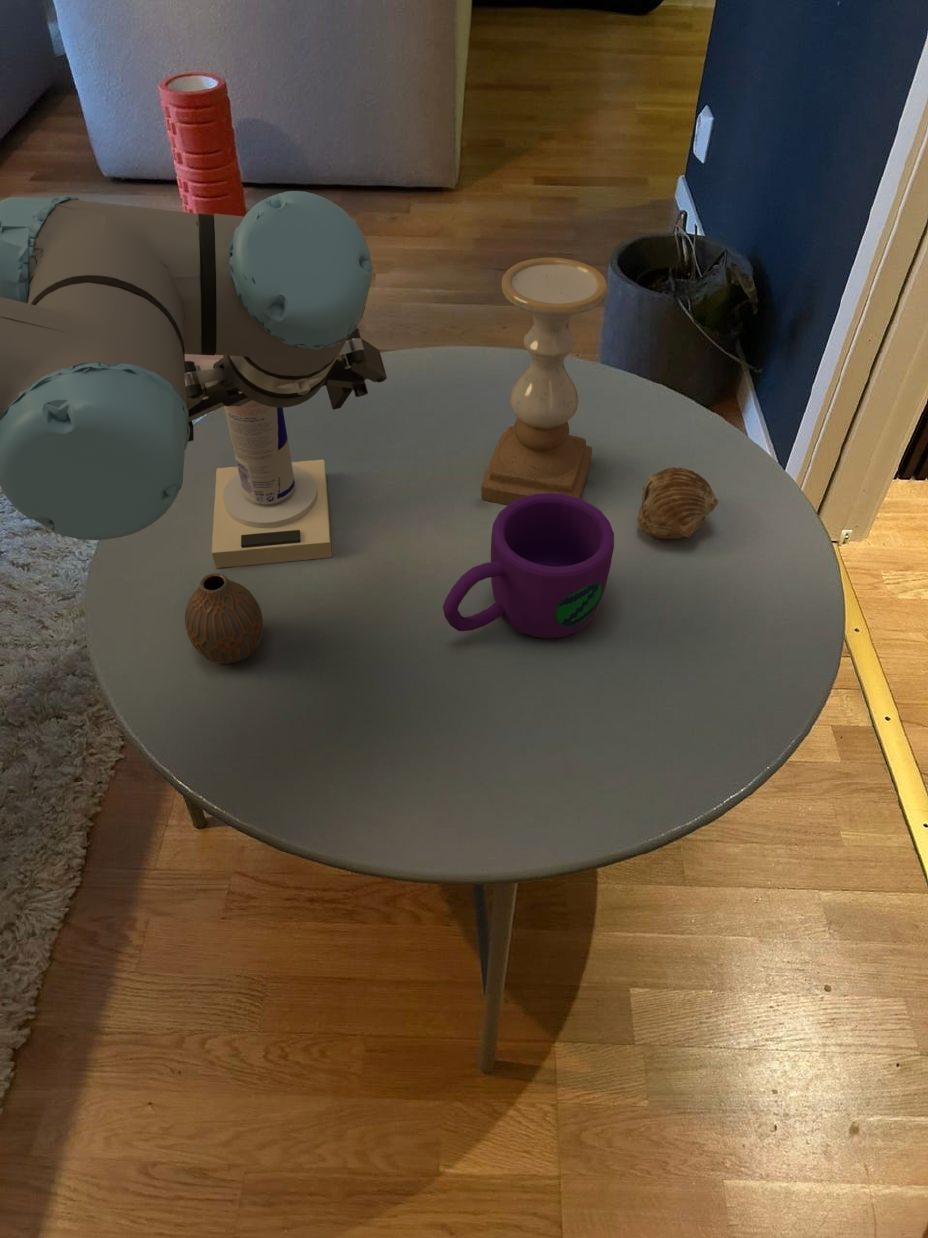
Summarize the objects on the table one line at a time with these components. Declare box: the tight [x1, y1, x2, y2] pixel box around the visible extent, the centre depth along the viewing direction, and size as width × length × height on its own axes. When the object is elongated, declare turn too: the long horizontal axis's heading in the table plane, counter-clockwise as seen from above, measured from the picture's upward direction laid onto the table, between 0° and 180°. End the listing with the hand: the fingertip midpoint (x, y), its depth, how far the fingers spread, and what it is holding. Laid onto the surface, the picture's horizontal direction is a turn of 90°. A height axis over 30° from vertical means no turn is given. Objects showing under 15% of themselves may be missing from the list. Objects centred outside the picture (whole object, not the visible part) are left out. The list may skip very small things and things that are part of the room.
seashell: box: [637, 466, 719, 540], centre depth 96 cm, size 9×7×8 cm
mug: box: [442, 493, 615, 639], centre depth 86 cm, size 17×11×10 cm, turn 121°
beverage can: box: [223, 391, 295, 504], centre depth 92 cm, size 6×6×15 cm
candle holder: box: [480, 257, 608, 506], centre depth 96 cm, size 11×11×24 cm
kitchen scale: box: [211, 459, 333, 569], centre depth 98 cm, size 12×14×3 cm
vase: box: [184, 572, 264, 664], centre depth 83 cm, size 7×7×9 cm
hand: (260, 410), depth 82 cm, fingers open, 13 cm apart
